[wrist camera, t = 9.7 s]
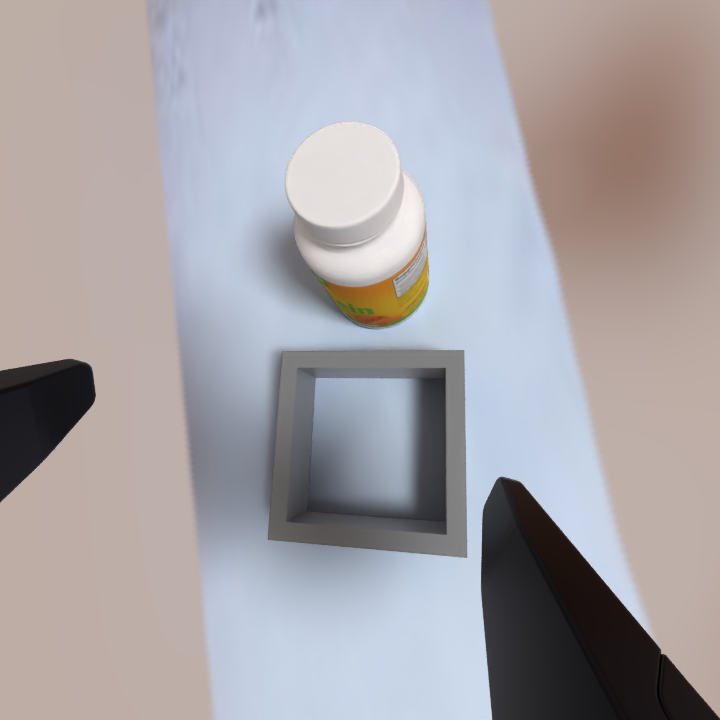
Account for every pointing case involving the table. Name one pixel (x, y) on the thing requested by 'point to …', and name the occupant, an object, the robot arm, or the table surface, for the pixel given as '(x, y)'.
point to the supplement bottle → (360, 223)
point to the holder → (295, 454)
